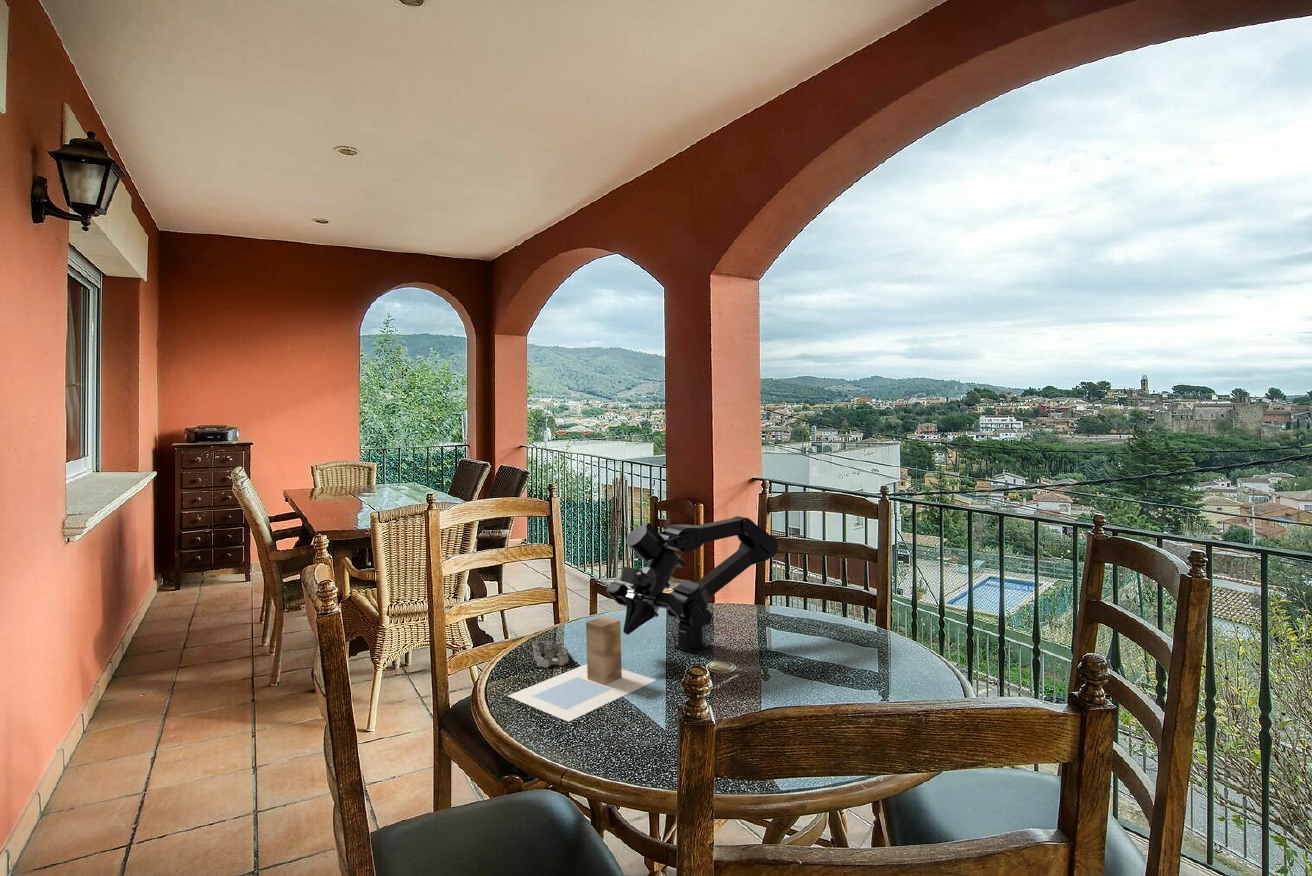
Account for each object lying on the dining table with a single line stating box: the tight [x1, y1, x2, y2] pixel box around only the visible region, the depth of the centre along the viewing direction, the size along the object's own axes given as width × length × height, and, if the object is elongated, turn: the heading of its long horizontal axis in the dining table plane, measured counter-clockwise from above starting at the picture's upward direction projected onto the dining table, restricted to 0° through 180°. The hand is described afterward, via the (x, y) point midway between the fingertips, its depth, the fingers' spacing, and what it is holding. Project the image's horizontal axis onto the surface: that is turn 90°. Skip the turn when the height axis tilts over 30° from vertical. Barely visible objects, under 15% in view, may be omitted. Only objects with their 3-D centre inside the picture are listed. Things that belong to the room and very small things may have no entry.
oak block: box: [585, 615, 623, 685], centre depth 142 cm, size 5×5×12 cm
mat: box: [507, 663, 657, 723], centre depth 138 cm, size 24×18×1 cm
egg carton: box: [532, 640, 569, 669], centre depth 155 cm, size 11×8×4 cm
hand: (625, 633), depth 147 cm, fingers closed
